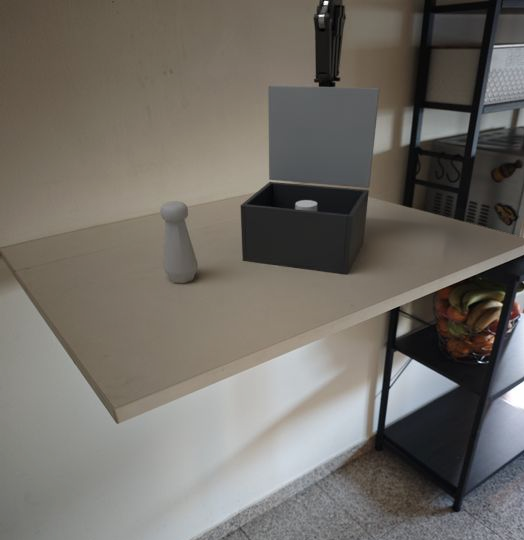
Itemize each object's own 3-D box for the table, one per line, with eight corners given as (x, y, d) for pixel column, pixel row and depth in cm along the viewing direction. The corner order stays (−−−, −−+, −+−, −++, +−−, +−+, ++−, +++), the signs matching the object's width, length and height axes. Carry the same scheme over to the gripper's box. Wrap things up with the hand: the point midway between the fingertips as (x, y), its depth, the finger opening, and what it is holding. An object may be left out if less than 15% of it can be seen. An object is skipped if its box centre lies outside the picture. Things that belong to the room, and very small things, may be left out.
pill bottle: (316, 242, 97) (318, 198, 92) (319, 251, 93) (321, 207, 88) (291, 242, 97) (292, 199, 92) (293, 252, 93) (294, 207, 88)
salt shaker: (179, 268, 89) (171, 195, 82) (205, 275, 87) (199, 201, 80) (158, 280, 85) (147, 205, 78) (184, 288, 83) (175, 211, 75)
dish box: (347, 274, 86) (352, 216, 81) (242, 260, 92) (240, 205, 86) (363, 242, 98) (368, 189, 93) (269, 231, 104) (269, 181, 98)
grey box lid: (379, 88, 83) (379, 88, 84) (268, 85, 89) (269, 85, 89) (368, 188, 92) (369, 186, 93) (268, 179, 98) (270, 178, 98)
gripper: (320, -35, 85) (314, 115, 98) (299, -42, 75) (295, 127, 88) (364, -37, 83) (352, 117, 96) (348, -44, 73) (337, 129, 86)
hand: (325, 122), depth 92 cm, fingers closed
